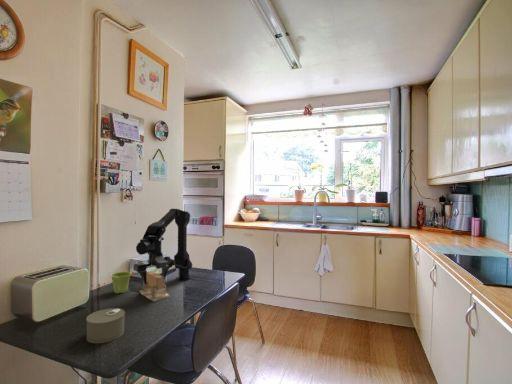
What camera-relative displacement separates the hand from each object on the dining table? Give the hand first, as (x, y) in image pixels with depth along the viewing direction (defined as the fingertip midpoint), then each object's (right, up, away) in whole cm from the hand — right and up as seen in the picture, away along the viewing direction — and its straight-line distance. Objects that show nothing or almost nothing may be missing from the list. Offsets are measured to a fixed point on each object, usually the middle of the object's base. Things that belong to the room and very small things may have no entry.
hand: (154, 282), depth 133 cm
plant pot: (-19, -6, +4) cm, 20 cm away
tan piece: (0, -6, 0) cm, 6 cm away
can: (-3, -6, -38) cm, 38 cm away
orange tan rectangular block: (0, -2, 0) cm, 2 cm away
